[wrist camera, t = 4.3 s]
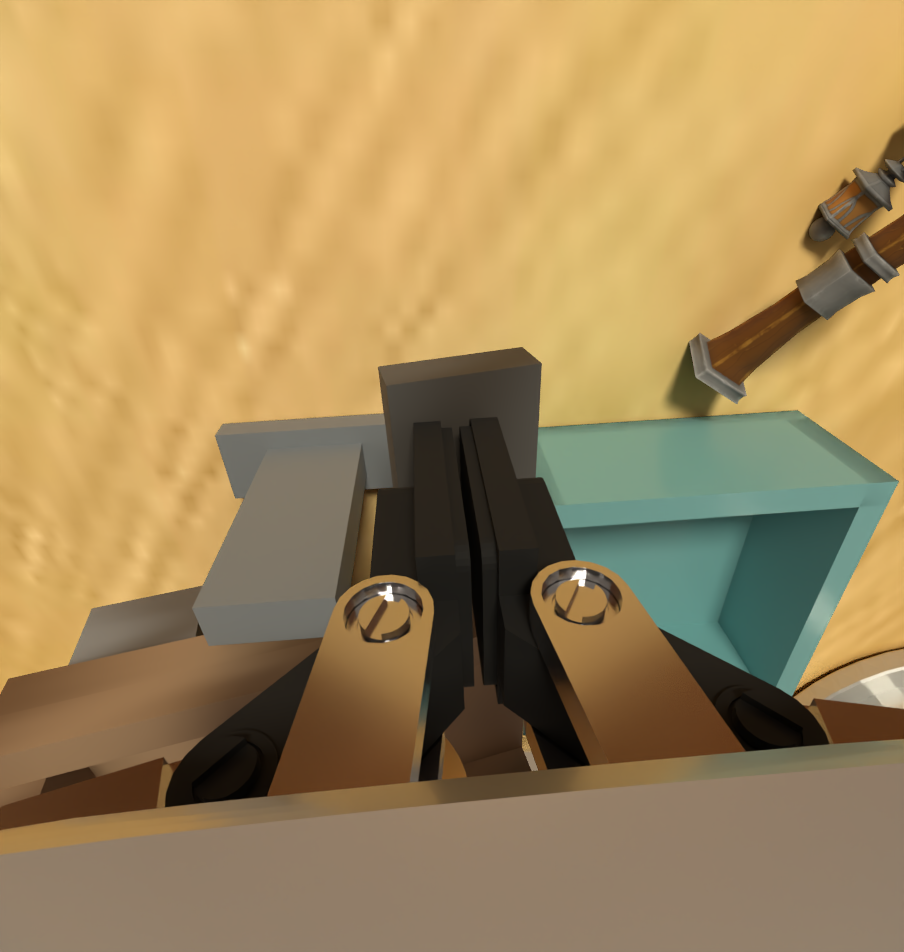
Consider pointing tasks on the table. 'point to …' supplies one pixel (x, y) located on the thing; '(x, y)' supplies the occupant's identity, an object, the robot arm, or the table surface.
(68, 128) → the table surface
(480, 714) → the lever
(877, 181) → the wooden post with brackets
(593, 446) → the teal open box
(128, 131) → the table surface
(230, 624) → the lever stand
